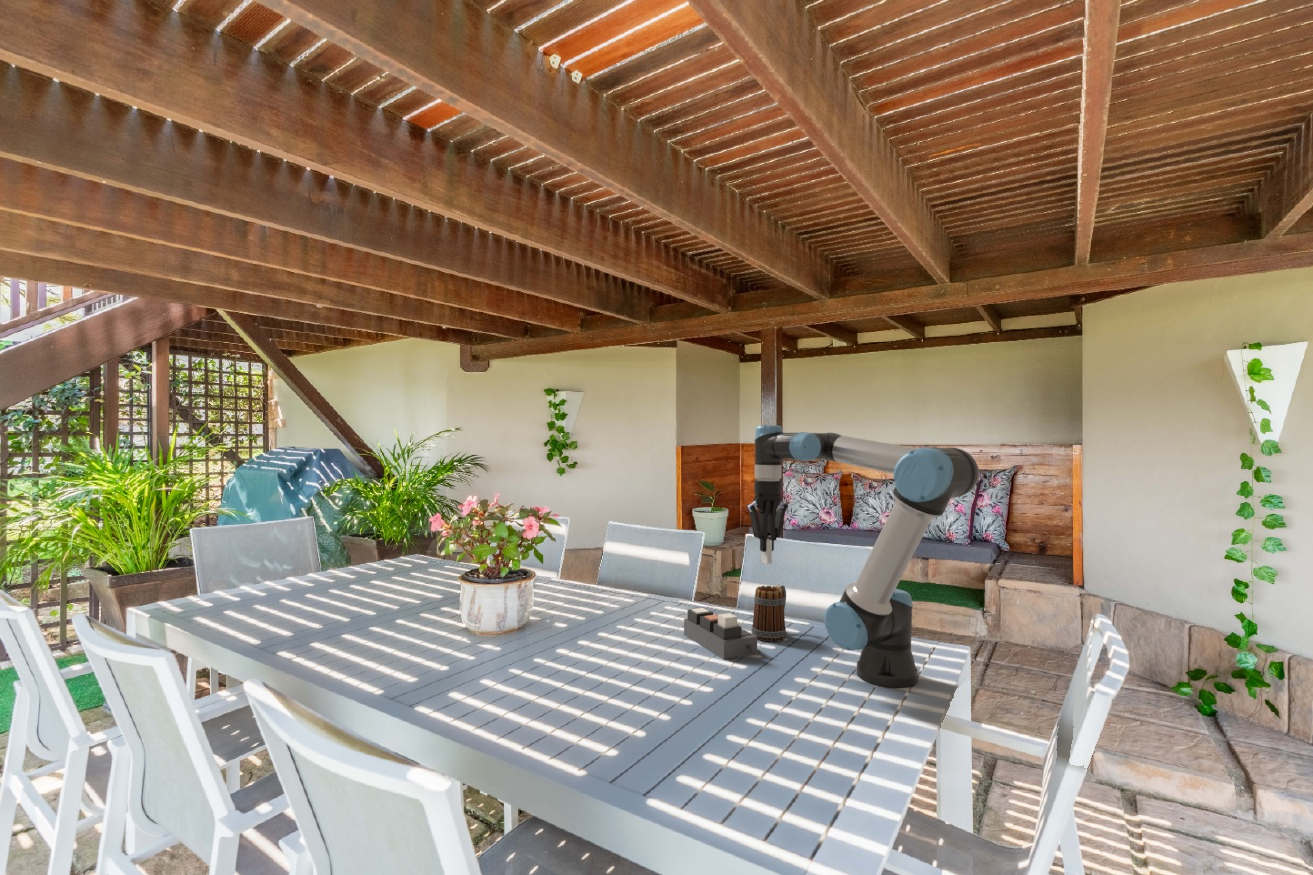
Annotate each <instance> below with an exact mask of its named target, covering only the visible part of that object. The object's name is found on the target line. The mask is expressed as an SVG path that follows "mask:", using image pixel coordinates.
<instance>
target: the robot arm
mask: <svg viewBox="0 0 1313 875" xmlns="http://www.w3.org/2000/svg"><path fill="white" fill-rule="evenodd" d="M754 434H755V435H754V436H755V437H754V478H755V481H754V483H753V484H754V487H753V488H754V489H753V490H754V494H755V495H754V498H753V501H752V502H751V503H750V504H749V503H748V504H746V506H745V507H746V509H747V511H748V514H749V517H750V523H751V528H752V533H753V537H754V538H756V539H758V540H759V550H760V552H761V563H763V564H766V565H771V564H772V563H773V562H772V561H773V559H772V557H773V554H772V553H773V552H774V550H775V541H776V540H777V538H780V536H781V534H782V529H783V525H784V520H785V515H786V512H787V510H788V508H789V504H787V503H785V502H783V501H782V497H781V493H782V481H781V479H782V472H783V471H782V466H783V465H782V462H783V460H790V461H799V462H809V461H810V462H811V461H815V460H816V461H817V460H820V461H822V460H823V461H824V460H825V461H830V462H835V463H841V464H844V465H851V466H855V467H859V468H864V469H868V470H872V471H877V472H883V473H886V474H892V475H893V477H892V478H893V480H894V488H893V491H892V496H893V498H894V500H895V502H894V504H893V507H892V509H891V510H890V512H889V514H888V517H887V519H886V520H885V523H884V525H883V527H882V529H881V530H880V532H879V535H878V537H877V539H876V541H875V543H874V545H873V548H871V551H870V554H869V555H868V557H867V559H866V560H865V563H864V565H863V567H862V569H861V571H860V574H859V575H858V578H857V579H856V582H854V583H853V582H852V583H849V584H848V585H847V586H846V587H845V589H844V591H843V593H842V596H841V597H840V599H839V601H836V602H833V603H832V604H830V605H829V606H828V607H827V608H826V610H825V614H824V625H825V628H826V632H827V634H828V636H829V638H830V639H831V641H832V642H833V643H834V645H836V646H837V647H839V648H840V649H843V650H845V651H856V650H858V651H859V650H861V651H860V655H859V658H858V661H857V662H856V675H857V677H859V678H860V679H862V680H863V681H864V682H867V683H870V684H874V685H877V686H882V687H889V688H907V687H908V688H909V687H912V686H915V685H916V684H917V683H918V681H919V671H918V668H917V667H916V663H915V659H914V655H913V652H912V626H913V625H912V624H913V623H912V620H913V619H912V617H913V604H912V596H911V594H910V593H909V592H907V591H906V590H902V589H899V588H897V587H898V585H899V583H900V581H901V579H902V577H903V575H904V573H905V572H906V570H907V568H908V565H909V564H910V562H911V560H912V558H913V556H914V553H915V552H916V550H917V548H918V547H919V544H920V543H921V541H922V539H923V537H924V535H925V533H926V530H927V529H928V527H929V525H930V524H931V521H932V520H933V519H935V518H938V517H942V516H943V514H944V513H945V510H946V509H947V507H948V505H949V503H950V501H951V499H953V498H959V497H963V496H965V495H967V494H969V493H970V492H971V491H972V490H973V489H974V488H975V486H976V485H977V483H978V480H979V477H980V470H979V466H978V464H977V461H976V459H975V458H974V457H973V456H972V455H971V454H970V453H969V452H967V451H965V450H964V449H961V448H957V447H935V446H924V447H920V448H916V447H911V446H906V445H899V444H893V443H888V442H880V441H875V440H871V439H865V438H863V439H862V438H858V437H852V436H847V435H841V434H839V433H835V432H806V431H805V432H804V431H802V432H783V427H782V426H781V425H773V424H772V425H766V424H765V425H757V426H756V429H755V433H754Z"/></svg>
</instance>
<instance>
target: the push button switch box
mask: <svg viewBox="0 0 1313 875" xmlns="http://www.w3.org/2000/svg"><path fill="white" fill-rule="evenodd" d="M703 608H704V609H706V610H708V611H709V613H701V614H697V613H695V612H693V611H692V608H691V609H687V618H686V617H685V618H684V619H683V636H685V637H686V638H688V639H690V640H692V641H693V642H695V643H697V644H698V645H700V646H701V647H703V648H704V649H706V650H708V651H710V652H711V653H713V654H715V655H716V656H717V657H720V658H721V659H722V660H727V659H734V658H740V657H746V656H753V655H754V656H755V655H758V656H760V655H761V654H762V651H761V650H760V649H758V640H757V636H755V635H753V634H752V632H749V631H747V630H745V629H744V628H742V626H740V625H739V624H737V627H732V628H723V627H721V626H719V625H718V620H714V621H710V620H708V619H706V618H704V616H709V615H714V612H713V611H711V610H709V609H707V608H705V607H703ZM715 615H718V614H717V613H716V614H715Z"/></svg>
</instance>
